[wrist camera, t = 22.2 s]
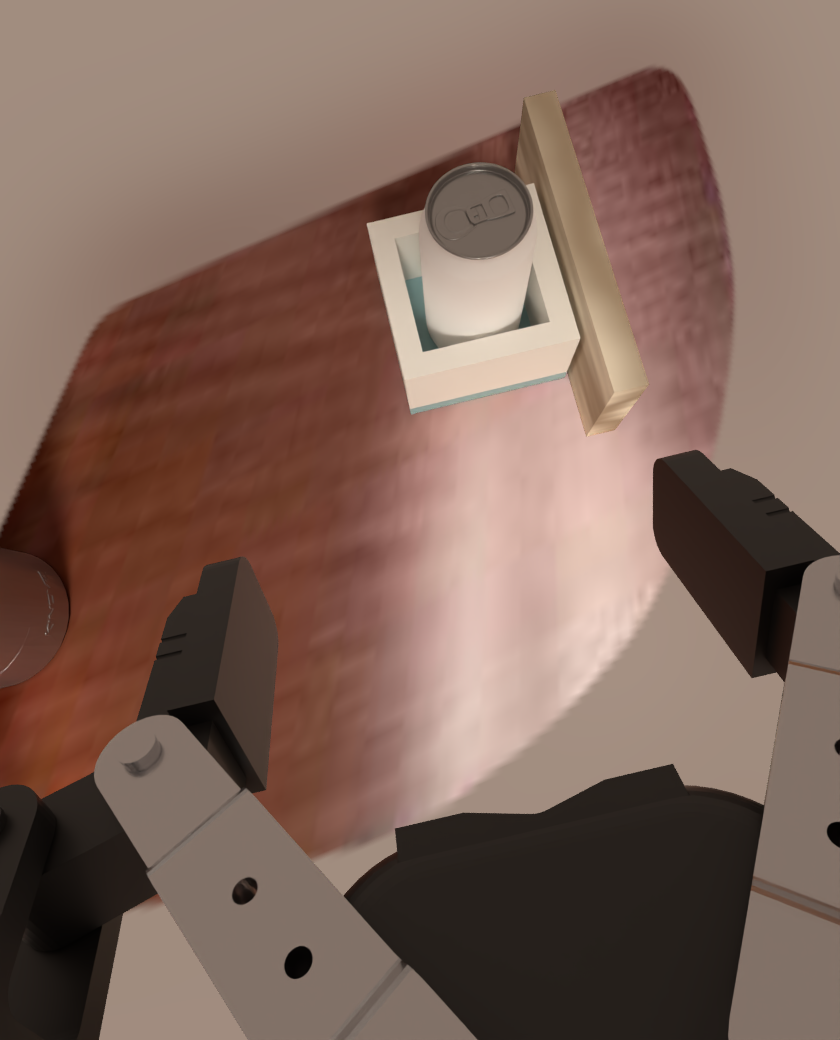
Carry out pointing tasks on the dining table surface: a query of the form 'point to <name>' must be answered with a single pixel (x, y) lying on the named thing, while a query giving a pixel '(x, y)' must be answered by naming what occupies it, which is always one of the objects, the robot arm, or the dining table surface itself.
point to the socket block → (481, 362)
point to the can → (476, 253)
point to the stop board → (581, 269)
